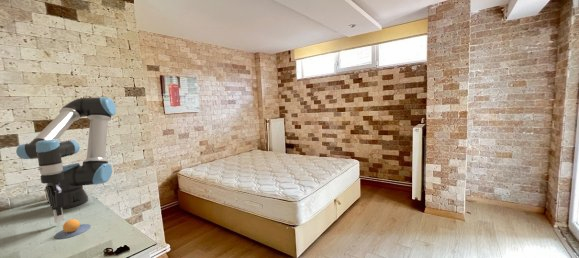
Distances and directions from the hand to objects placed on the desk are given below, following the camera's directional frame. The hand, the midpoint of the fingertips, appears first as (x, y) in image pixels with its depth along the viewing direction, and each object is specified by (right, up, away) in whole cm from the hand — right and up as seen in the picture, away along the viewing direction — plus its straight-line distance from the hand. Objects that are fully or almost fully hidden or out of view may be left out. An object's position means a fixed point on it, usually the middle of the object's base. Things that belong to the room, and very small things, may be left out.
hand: (59, 221), depth 110 cm
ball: (+12, +1, -7) cm, 14 cm away
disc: (+13, -2, -6) cm, 14 cm away
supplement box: (-33, 0, +32) cm, 46 cm away
